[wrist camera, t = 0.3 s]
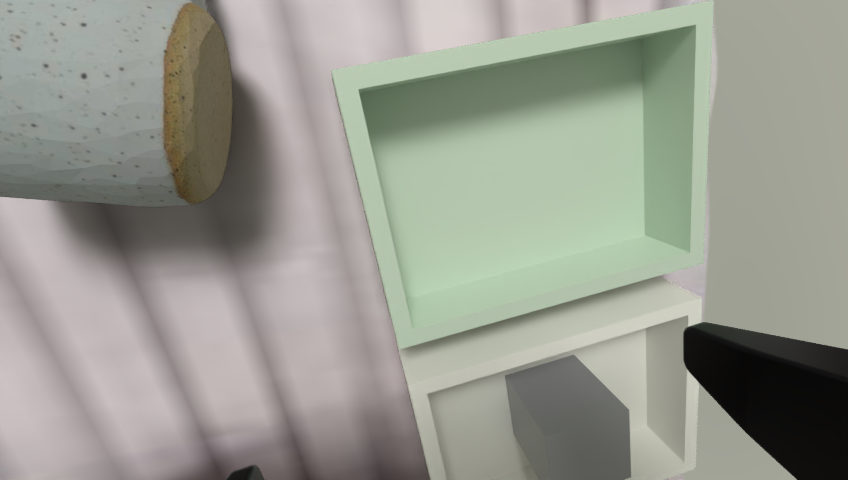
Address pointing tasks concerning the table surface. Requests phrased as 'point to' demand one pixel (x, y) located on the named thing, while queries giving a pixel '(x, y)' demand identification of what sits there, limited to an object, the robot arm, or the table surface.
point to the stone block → (569, 422)
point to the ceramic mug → (113, 101)
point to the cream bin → (547, 341)
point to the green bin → (532, 166)
